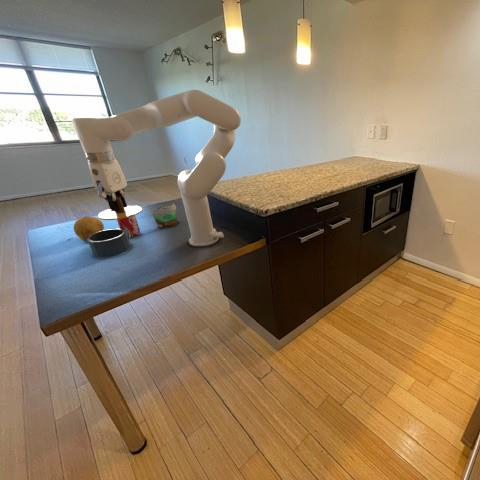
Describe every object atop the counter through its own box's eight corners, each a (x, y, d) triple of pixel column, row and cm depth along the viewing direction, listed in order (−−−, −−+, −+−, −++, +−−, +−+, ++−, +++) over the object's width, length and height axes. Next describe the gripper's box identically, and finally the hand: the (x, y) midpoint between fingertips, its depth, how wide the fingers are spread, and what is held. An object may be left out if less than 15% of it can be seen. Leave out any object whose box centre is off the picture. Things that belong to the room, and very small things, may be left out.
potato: (76, 245, 113) (66, 224, 108) (81, 235, 122) (72, 215, 118) (105, 240, 118) (97, 220, 113) (108, 230, 127) (100, 211, 123)
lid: (149, 208, 103) (144, 191, 100) (129, 221, 91) (123, 203, 88) (114, 208, 102) (107, 192, 99) (89, 222, 90) (81, 204, 87)
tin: (137, 243, 115) (131, 228, 112) (119, 258, 104) (112, 241, 101) (107, 244, 115) (101, 228, 111) (86, 258, 103) (78, 242, 100)
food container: (162, 231, 127) (156, 211, 122) (155, 228, 130) (149, 209, 125) (185, 222, 136) (180, 204, 132) (178, 220, 139) (173, 202, 135)
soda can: (132, 240, 118) (123, 215, 113) (119, 238, 119) (110, 214, 114) (145, 233, 124) (137, 210, 119) (132, 232, 126) (124, 208, 120)
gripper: (95, 161, 80) (116, 217, 89) (126, 153, 95) (142, 201, 103) (69, 161, 80) (93, 217, 88) (105, 153, 94) (122, 201, 103)
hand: (119, 208), depth 96 cm, fingers closed on lid, 3 cm apart
